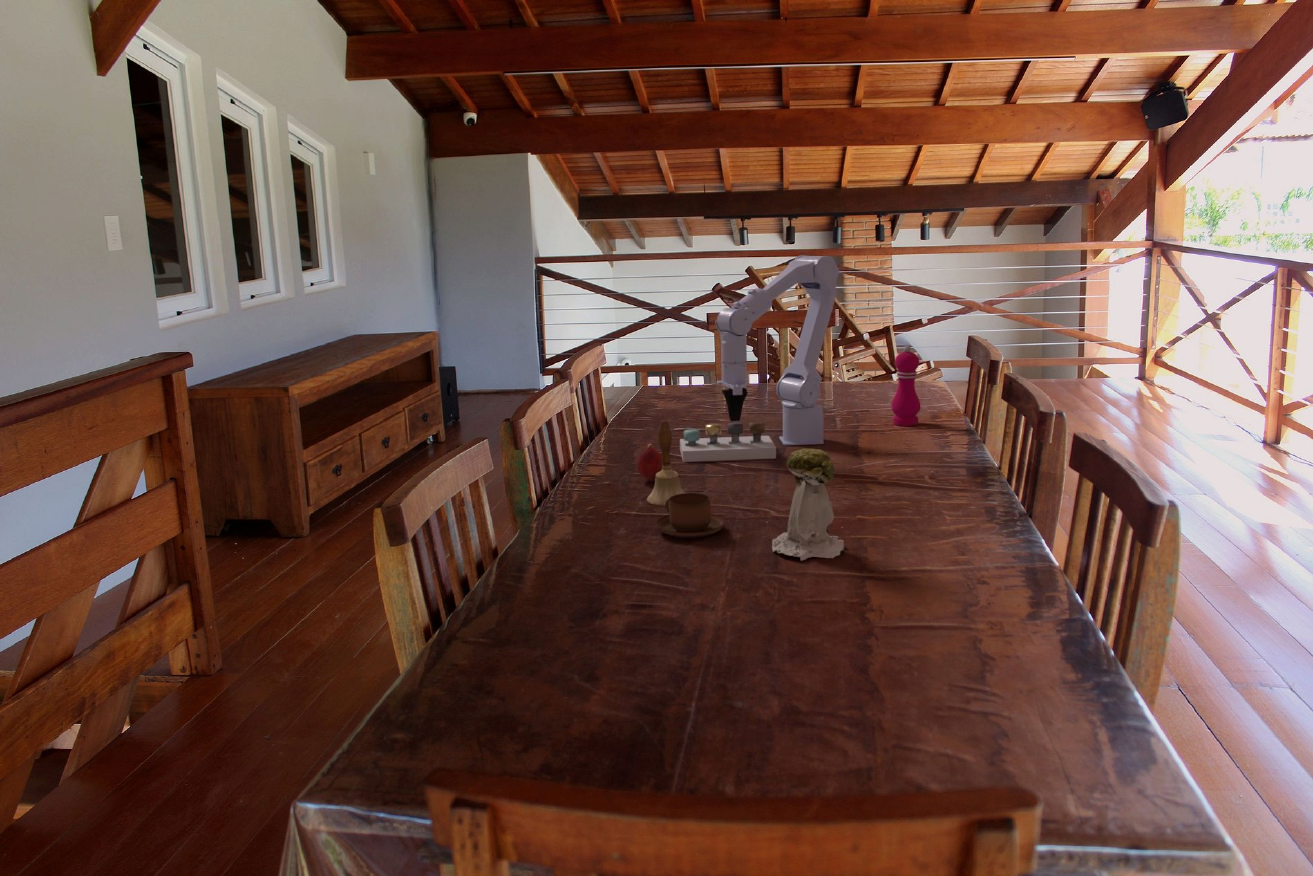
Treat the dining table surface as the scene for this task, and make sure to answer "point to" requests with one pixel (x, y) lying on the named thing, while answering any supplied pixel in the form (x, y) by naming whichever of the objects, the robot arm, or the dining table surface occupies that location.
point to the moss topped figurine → (809, 508)
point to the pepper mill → (906, 389)
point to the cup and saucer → (689, 516)
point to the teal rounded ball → (691, 436)
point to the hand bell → (665, 471)
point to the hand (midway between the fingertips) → (734, 420)
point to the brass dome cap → (713, 432)
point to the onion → (649, 463)
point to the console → (728, 449)
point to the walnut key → (756, 430)
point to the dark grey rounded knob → (735, 431)
